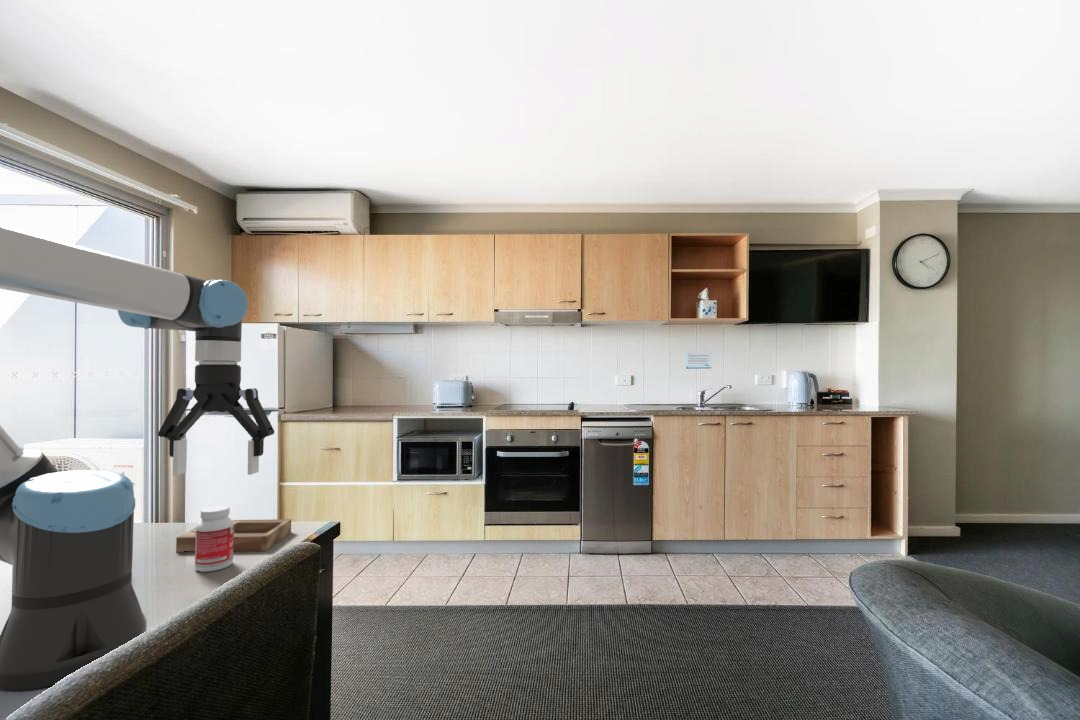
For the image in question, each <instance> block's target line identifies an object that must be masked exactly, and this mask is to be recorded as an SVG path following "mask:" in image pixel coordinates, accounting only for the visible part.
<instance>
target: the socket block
mask: <svg viewBox="0 0 1080 720" xmlns="http://www.w3.org/2000/svg"><path fill="white" fill-rule="evenodd" d="M232 520H233V522H234V532H233V552H266V551H268V550H269V549H271V548H272V547H273V546H275V545H277V543H278V542H280V541H281V540H283V539H284V538H286V537H287V536H288V535H289V534H291V533H292V519H291V518H290V519H287V518H286V519H284V518H283V519H279V518H277V519H275V518H274V519H232ZM195 533H196V527H195V528H193V529H190V530H188V531H187V532H184V533H183V534H181V535H179V536H177V537H176V541H175V542H176V543H175V545H176V546H175V547H176V548H175V551H176V552H175V553H185V552H184V551H195V537H196V534H195Z"/></svg>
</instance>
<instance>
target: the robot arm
mask: <svg viewBox="0 0 1080 720" xmlns="http://www.w3.org/2000/svg"><path fill="white" fill-rule="evenodd" d="M0 290H6V291H11V292H17V293H23V294H28V295H33V296H39V297H44V298H49V299H55V300H61V301H65V302H66V301H67V302H72V303H77V304H82V305H88V306H93V307H98V308H99V307H100V308H105V309H109V310H116V311H117V314H118V317H119V319H120V320H121V322H122V323H123V324H124V325H126V326H129V327H131V328H132V327H133V328H142V329H145V330H148V329H155V330H156V329H157V330H158V329H159V330H169V331H170V330H171V331H187V332H195V337H194V338H195V339H194V341H195V347H194V348H195V351H194V353H195V354H194V361H195V362H198V364H196V365H195V366H194V383H195V388H194V389H192V388H189V387H187V388H186V387H183V388H178V389H177V391H176V395H175V396H176V397H175V401H174V403H173V404H172V406H171V409H170V410H169V412H168V414H167V416H166V418H165V419H164V421H163V423H162V425H161V426H160V429H159V431H158V433H157V436H158V437H160V438H165V439H167V440H168V442H169V448H168V450H169V451H168V453H169V457H170V458H172V459H173V460H172V462H173V463H172V464H173V465H172V467H173V468H172V476H179V475H182V474H185V473H187V460H188V459H187V458H188V455H187V454H188V453H187V452H188V451H187V450H188V448H187V447H188V443H187V442H188V439H187V438H185V434H186V433H188V431H189V430H190V429H191V428H192V427H193V426H194V425H195V424H196V422H197V421H198V420H199V419H200V418H201V417H202V416H203V415H204V414H205V413H212V412H218V413H225V412H228V413H229V414H230V415H232V416H233V418H234V419H236V421H237V422H238V423H239V425H241V426H242V428H243V429H244V430H245V432H247V434H248V435H249V436H250V437H251V439H249V440H248V441H247V475H254V474H256V473H259V472H260V471H259V469H260V467H259V465H260V462H259V461H260V460H259V459H260V457H261V456H263V454H264V443H265V441H264V440H265V438H266V437H271V436H273V435H274V434H275V429H274V428H273V426H272V423H271V421H270V420H269V418H268V415H267V414H266V412H265V410H264V408H263V406H262V404H261V402H260V400H259V399H260V398H259V390H258V389H257V387H256V388H255V387H254V388H246V389H242V388H241V381H242V367H241V365H240V364H238V363H240V362H241V361H242V327H243V326H242V323H243V322H242V321H243V319H244V318H245V316H246V314H247V312H248V308H249V301H248V297H247V295H246V293H245V291H244V289H243V288H242V287H241V286H239V285H238V284H237V283H236V282H233V281H230V280H225V279H219V278H218V279H210V280H207V279H203V278H199V277H195V276H191V275H187V274H183V273H179V272H176V271H173V270H168V269H165V268H161V267H158V266H154V265H151V264H147V263H143V262H139V261H135V260H132V259H128V258H124V257H121V256H117V255H113V254H109V253H106V252H102V251H99V250H95V249H91V248H87V247H86V246H81V245H77V244H73V243H69V242H66V241H62V240H59V239H56V238H55V239H54V238H51V237H48V236H44V235H42V234H41V235H39V234H36V233H32V232H29V231H26V230H22V229H17V228H15V227H11V226H7V225H4V224H0ZM241 397H242V399H243V400H244V401H246V405H247V407H248V409H249V411H250V413H251V415H252V417H253V418H252V417H251V416H250V414H248V412H246V411H245V408H244V406H243V405H242V404H241V403H240V402H239V400H240V399H241ZM193 398H194V399H195V400H196V403H195V404H193V406H192V407H191V408H190V411H189V412H188V413H187V414H186V415H185V416H184V418H183V419H182V417H183V415H184V414H185V412H186V410H187V408H188V406H189V404H190V402H191V400H193ZM181 419H182V420H181ZM253 419H254V420H253ZM134 493H135V492H134V484H133V482H132V480H131V479H130V478H129V477H128V476H127V475H124V474H122V473H119V472H115V471H110V470H93V469H75V470H64V471H62V470H61V471H59V470H58V469H57V468H56V466H55V465H54V464H53V463H52V462H51V461H50V460H49V458H48V457H47V456H46V455H45V454H44V452H42V450H41V449H36V448H35V449H34V448H25V447H20V446H19V445H18V444H17V443H16V442H15V441H14V439H12V437H11V436H10V435H9V434H8V433H7V431H6V430H5V429H4V428H3V427H2V426H1V425H0V562H3V563H5V564H8V565H11V566H12V572H11V574H12V575H11V576H12V577H11V579H12V580H11V607H10V608H11V609H10V612H9V615H8V617H7V620H6V622H5V624H4V626H3V629H2V630H1V632H0V690H2V691H3V690H4V691H26V690H35V689H36V690H37V689H41V688H47V687H52V686H55V685H54V684H55V683H57V682H58V681H60V680H61V679H63V678H64V677H66V676H67V675H69V674H71V673H73V672H75V671H76V670H78V669H80V668H81V667H83V666H85V665H87V664H89V663H91V662H92V661H94V660H96V659H98V658H100V657H102V656H104V655H105V654H107V653H109V652H110V651H112V650H114V649H116V648H118V647H119V646H121V645H123V644H125V643H127V642H128V641H130V640H132V639H133V638H135V637H137V636H139V635H140V634H142V633H144V632H145V631H146V632H147V624H148V623H147V618H146V616H145V613H143V610H142V606H141V605H140V602H139V600H138V597H137V594H136V591H135V589H134V587H133V581H132V580H133V577H132V576H133V575H132V574H133V553H134V552H133V551H134V549H133V548H134V547H133V546H134V525H135V523H134V522H135V520H134V519H135V509H136V498H135V494H134Z"/></svg>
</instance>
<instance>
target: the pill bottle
mask: <svg viewBox="0 0 1080 720" xmlns="http://www.w3.org/2000/svg"><path fill="white" fill-rule="evenodd" d="M230 513H231V511H230V506H228V505H215V506H208V507H204V508H202V509H201V510H200V516H199V517H200V519H201V520H200V521H199V522H197V524H196V526H195V528H196V533H195V534H196V537H195V552H194V569H195V570H196V571H198V572H201V573H205V572H207V573H208V572H215V571H216V572H217V571H220V570H223V569H227V568H228V567H229V566H231V565H232V564H233V561H234V551H233V532H234V522H233V520H234V519H233V518H231V517H229V515H230Z"/></svg>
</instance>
